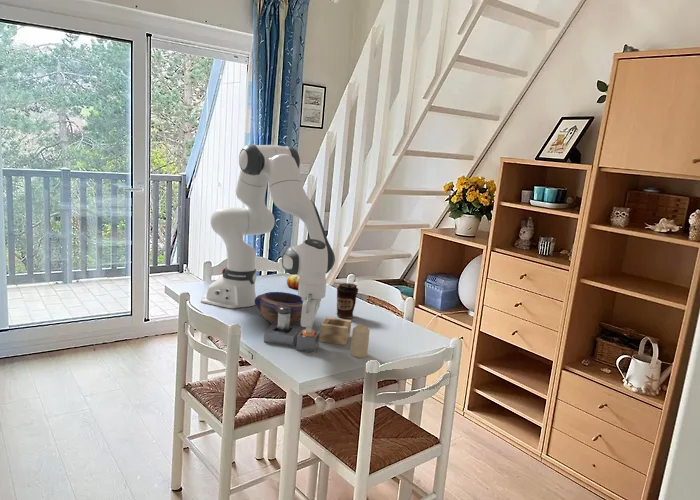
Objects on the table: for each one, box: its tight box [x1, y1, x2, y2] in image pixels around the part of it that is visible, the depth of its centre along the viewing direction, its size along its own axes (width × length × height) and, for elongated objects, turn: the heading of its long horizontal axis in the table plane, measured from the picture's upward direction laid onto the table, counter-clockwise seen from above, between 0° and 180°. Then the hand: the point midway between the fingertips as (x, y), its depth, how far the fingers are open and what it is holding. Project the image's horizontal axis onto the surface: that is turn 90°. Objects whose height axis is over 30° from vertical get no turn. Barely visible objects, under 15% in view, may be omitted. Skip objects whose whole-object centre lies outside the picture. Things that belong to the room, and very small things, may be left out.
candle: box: [350, 323, 370, 359], centre depth 172 cm, size 6×6×10 cm
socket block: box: [263, 323, 302, 347], centre depth 181 cm, size 10×10×4 cm
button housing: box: [296, 329, 321, 354], centre depth 174 cm, size 6×6×5 cm
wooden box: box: [319, 316, 352, 346], centre depth 185 cm, size 9×9×6 cm
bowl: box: [254, 291, 303, 325], centre depth 197 cm, size 18×18×10 cm
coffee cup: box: [336, 282, 359, 319], centre depth 209 cm, size 9×8×13 cm
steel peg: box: [277, 306, 291, 333], centre depth 180 cm, size 4×4×11 cm
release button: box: [302, 328, 316, 337], centre depth 174 cm, size 4×4×4 cm
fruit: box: [286, 274, 300, 290], centre depth 247 cm, size 11×10×8 cm
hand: (309, 331), depth 173 cm, fingers closed, pressing on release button
